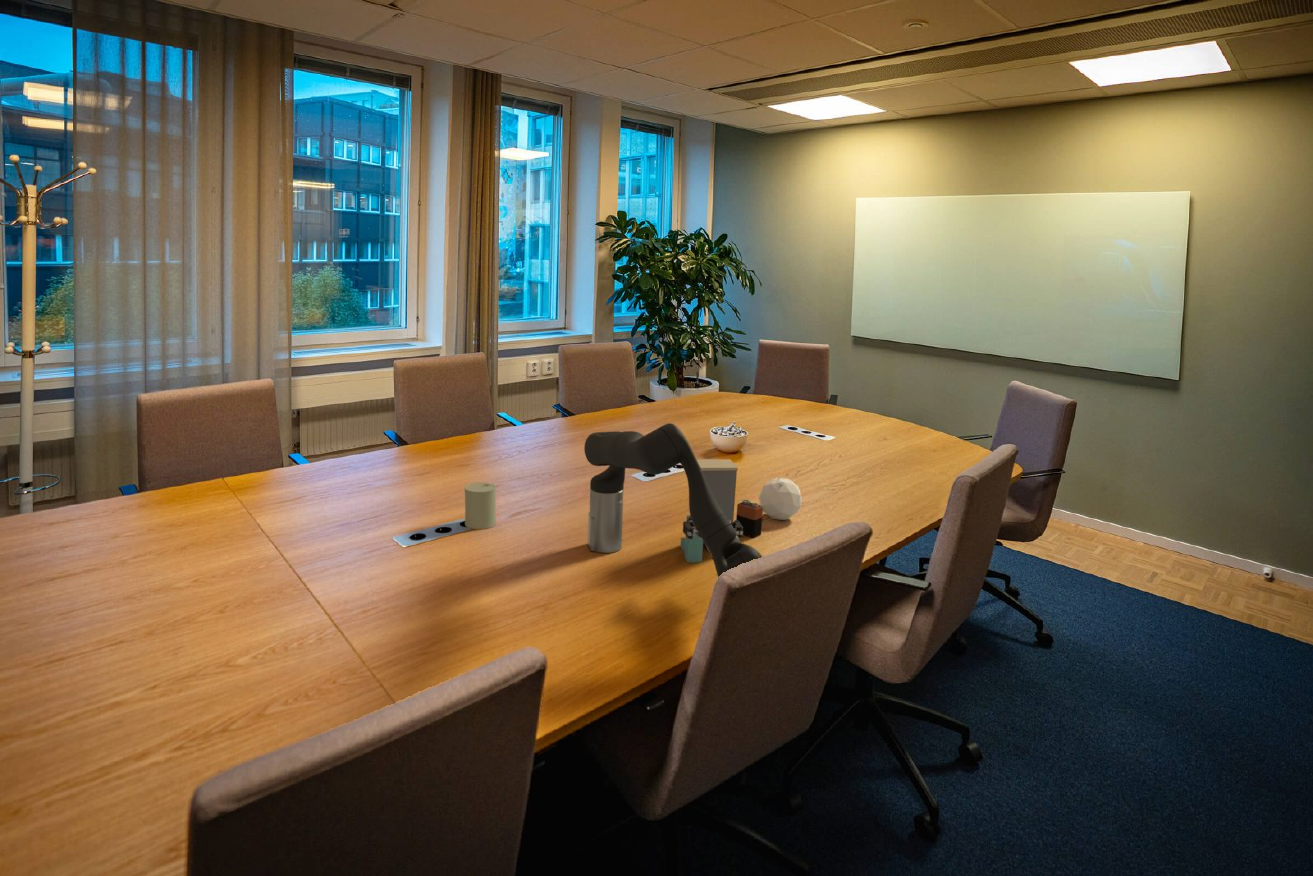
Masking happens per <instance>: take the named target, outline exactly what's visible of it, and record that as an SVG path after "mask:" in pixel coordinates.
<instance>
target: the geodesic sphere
mask: <svg viewBox="0 0 1313 876" xmlns="http://www.w3.org/2000/svg"><path fill="white" fill-rule="evenodd" d="M758 499H759V505H761V506H763V513H764V514H766V515H767V516H768V517H770V518H771V519H772V520H780V521H781V520H785V521H786V520H788V519H789V518H791V517H793V516H794V515H796V514H797V513H798V512H799V511H800V509H801V506H802V501H803V498H802V493H801V491H800V486H798V485H797V484H795V483H794V482H793V481H792V480H791V479H790V478H783V477H780V476H779V477H774V478H773V479H771V480H770V481H768V482H766V483H765V484H764V485H763V486H762V488H761V491H760V494H759V496H758Z"/></svg>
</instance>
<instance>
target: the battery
mask: <svg viewBox="0 0 1313 876" xmlns="http://www.w3.org/2000/svg"><path fill="white" fill-rule="evenodd" d="M736 505H737V506H736V518H735V520H738V521H739V522H740V524H741V525H742V527H743V535H742V536H747V537H750V538H756V537H758V536H760V535H762V526H763V525H762V524H763V513H764V512H763V506H761V504H759V503H757V502H751V501H750V500H749V499H742V502H739V503H737V504H736Z"/></svg>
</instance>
